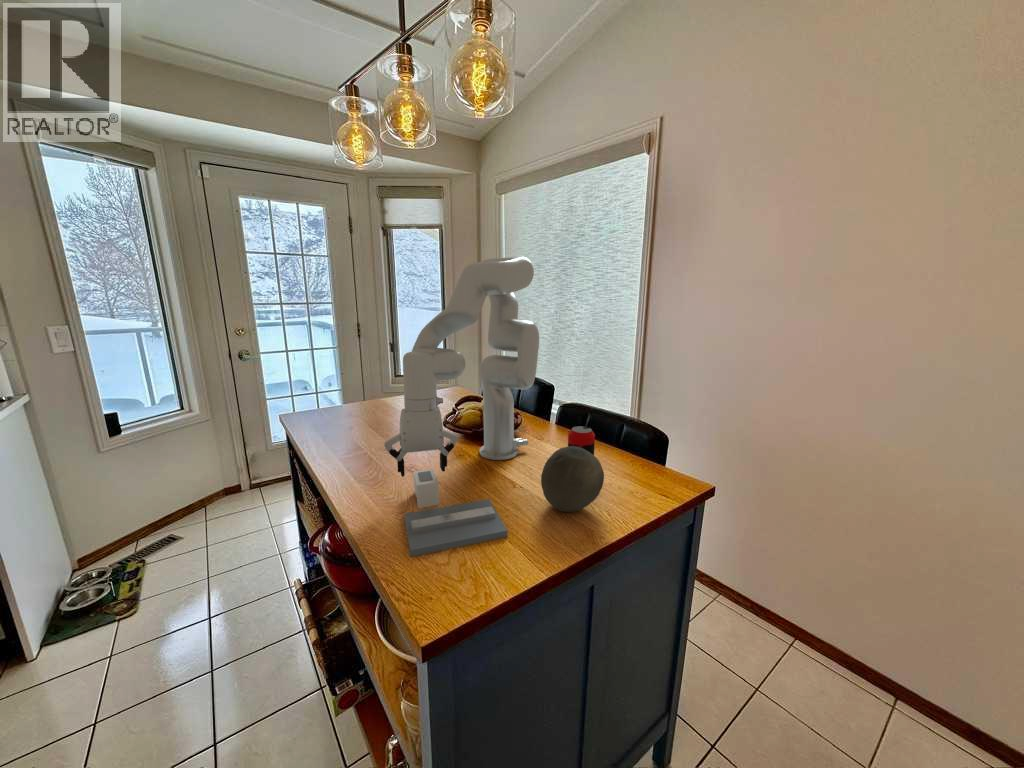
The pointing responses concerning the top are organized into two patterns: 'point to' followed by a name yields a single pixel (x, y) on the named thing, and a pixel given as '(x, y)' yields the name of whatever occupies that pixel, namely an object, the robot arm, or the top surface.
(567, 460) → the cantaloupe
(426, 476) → the module
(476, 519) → the steel rail
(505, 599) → the top surface
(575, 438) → the soda can
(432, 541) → the board
